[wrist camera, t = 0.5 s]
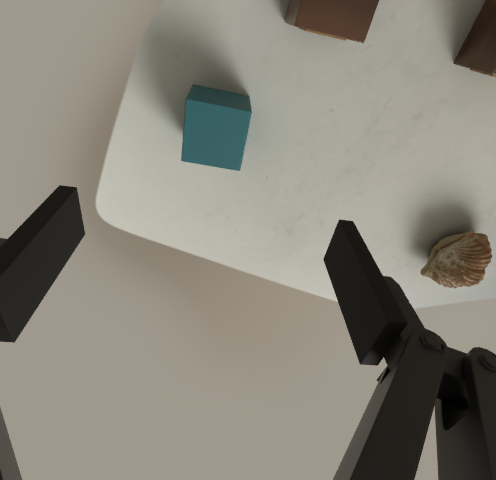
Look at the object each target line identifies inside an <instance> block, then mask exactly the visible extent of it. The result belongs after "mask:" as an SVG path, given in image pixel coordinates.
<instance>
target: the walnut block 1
mask: <svg viewBox="0 0 496 480" xmlns="http://www.w3.org/2000/svg"><path fill="white" fill-rule="evenodd" d="M378 2H379V0H290V2H289V6H288V11H287V15H286V20H285V22H286V23H288V24H290V25H293V26H296V27H299V28H300V29H302V30H305V31H308V32H312V33H316V34H320V35H325V36H329V37H333V38H337V39H341V40H345V41H346V39H349V40H353V41H357V42H361V43H364V41H365V38H366V35H367V33H368V30H369V27H370V24H371V21H372V19H373V16H374V13H375V10H376V7H377V5H378Z"/></svg>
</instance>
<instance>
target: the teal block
mask: <svg viewBox="0 0 496 480" xmlns="http://www.w3.org/2000/svg"><path fill="white" fill-rule="evenodd" d="M251 113H252V111H251V105H250V98H249V96H246V95H241V94H236V93H231V92H226V91H222V90H217V89H212V88H207V87H202V86H197V85H193V86H192V88H191V90H190V92H189V94H188V96H187V98H186V105H185V118H184V132H183V145H182V158H181V160H182V161H185V162H190V163H196V164H202V165H208V166H214V167H220V168H226V169H231V170H237V171H240V169H241V164H242V159H243V154H244V148H245V143H246V138H247V133H248V128H249V123H250V118H251Z"/></svg>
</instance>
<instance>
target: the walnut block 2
mask: <svg viewBox="0 0 496 480" xmlns="http://www.w3.org/2000/svg"><path fill="white" fill-rule="evenodd" d="M454 64H456V65H460V66H463V67H467V68H470V70H472V71H476V72H479V73H483V74H486V75H490V76H493V77H496V0H486V2H485V4H484V6H483V8H482V10H481V12H480V13H479V15H478V17H477V19H476V21H475V23H474V25H473V27H472V29H471V31H470V33H469V35H468V37H467V39H466V40H465V42H464V44H463V46H462V48H461V50H460V52H459V54H458V56H457V58H456V60H455V62H454Z"/></svg>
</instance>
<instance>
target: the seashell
mask: <svg viewBox="0 0 496 480" xmlns="http://www.w3.org/2000/svg"><path fill="white" fill-rule="evenodd" d="M491 258H492V254H491V248H490V242H488V237H487V236H486V235H485V234H482V233H481V234H480V233H474V231H473V230H471V231H468V232H466V233H463V234H455V235H451V236H447V237H445V238H443V239H441V240H440V241H439V242H438V244H437V245H436V246H434V247H433V249H432V251H431V255H430V258H429V260H428V262H427V264H426V265H425V266H424V267H423V268H422V270H421V275H423V276H427V277H430V278H431V279H432V280H434V281H435V282H437V283H438V284H440V285H443V286H444V287H449V288H452V287H453V288H457V287H458V286H460V287H462V286H472V285H474V284H478V283H479V282H480V281H482V280H483V277H484V275H485V268H486V267H487V265H488V264H489V263H490V262H491Z"/></svg>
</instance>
